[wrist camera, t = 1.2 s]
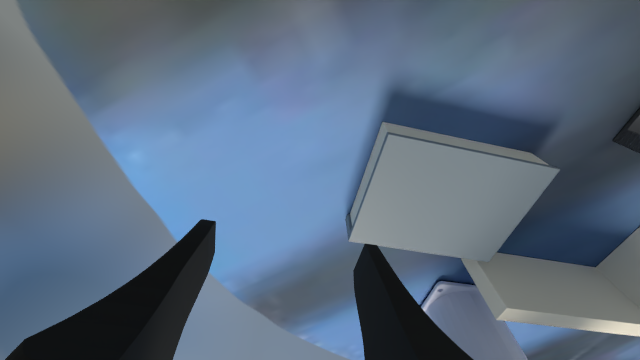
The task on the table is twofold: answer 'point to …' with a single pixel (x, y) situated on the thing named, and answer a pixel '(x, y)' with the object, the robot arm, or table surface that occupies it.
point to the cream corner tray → (564, 290)
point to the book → (444, 193)
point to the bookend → (630, 134)
